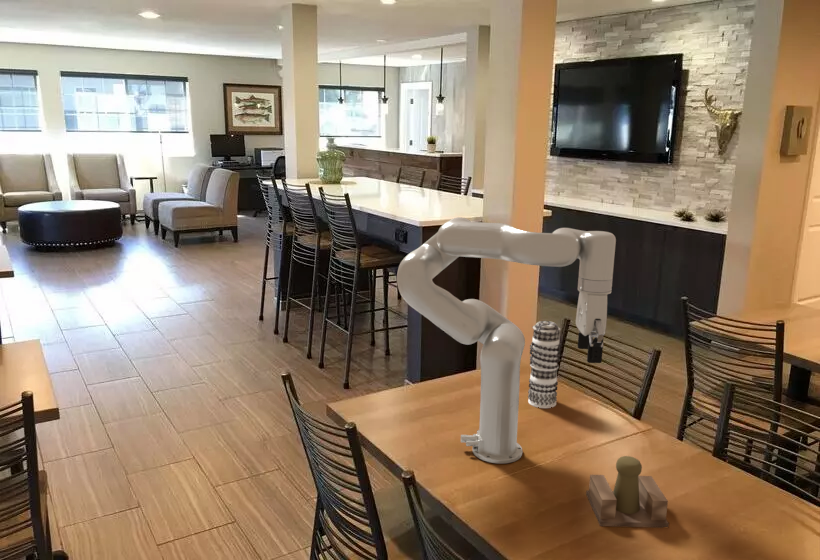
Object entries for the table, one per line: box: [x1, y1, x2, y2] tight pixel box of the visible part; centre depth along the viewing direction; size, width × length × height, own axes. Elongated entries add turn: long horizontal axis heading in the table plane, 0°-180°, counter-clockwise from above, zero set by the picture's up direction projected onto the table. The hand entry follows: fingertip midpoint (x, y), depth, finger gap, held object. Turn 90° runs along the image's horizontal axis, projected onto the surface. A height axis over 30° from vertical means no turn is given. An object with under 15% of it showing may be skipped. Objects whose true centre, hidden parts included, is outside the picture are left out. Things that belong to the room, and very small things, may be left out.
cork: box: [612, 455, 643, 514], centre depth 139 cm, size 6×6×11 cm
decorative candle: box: [527, 320, 563, 409], centre depth 193 cm, size 9×9×25 cm
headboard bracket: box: [585, 474, 670, 528], centre depth 139 cm, size 14×12×6 cm
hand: (589, 355), depth 153 cm, fingers open, 9 cm apart
